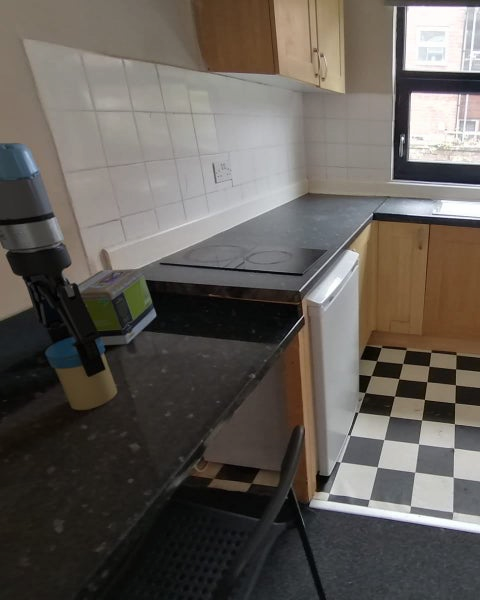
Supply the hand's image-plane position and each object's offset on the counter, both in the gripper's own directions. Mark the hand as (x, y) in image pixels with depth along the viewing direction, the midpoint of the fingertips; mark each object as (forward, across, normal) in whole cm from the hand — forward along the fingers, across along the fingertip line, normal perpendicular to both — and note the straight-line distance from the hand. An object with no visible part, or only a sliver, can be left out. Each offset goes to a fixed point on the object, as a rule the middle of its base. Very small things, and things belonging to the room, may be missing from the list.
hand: (82, 365), depth 73 cm
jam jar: (+7, 0, 0) cm, 7 cm away
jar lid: (-4, 0, 0) cm, 4 cm away
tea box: (+7, -21, +16) cm, 27 cm away
